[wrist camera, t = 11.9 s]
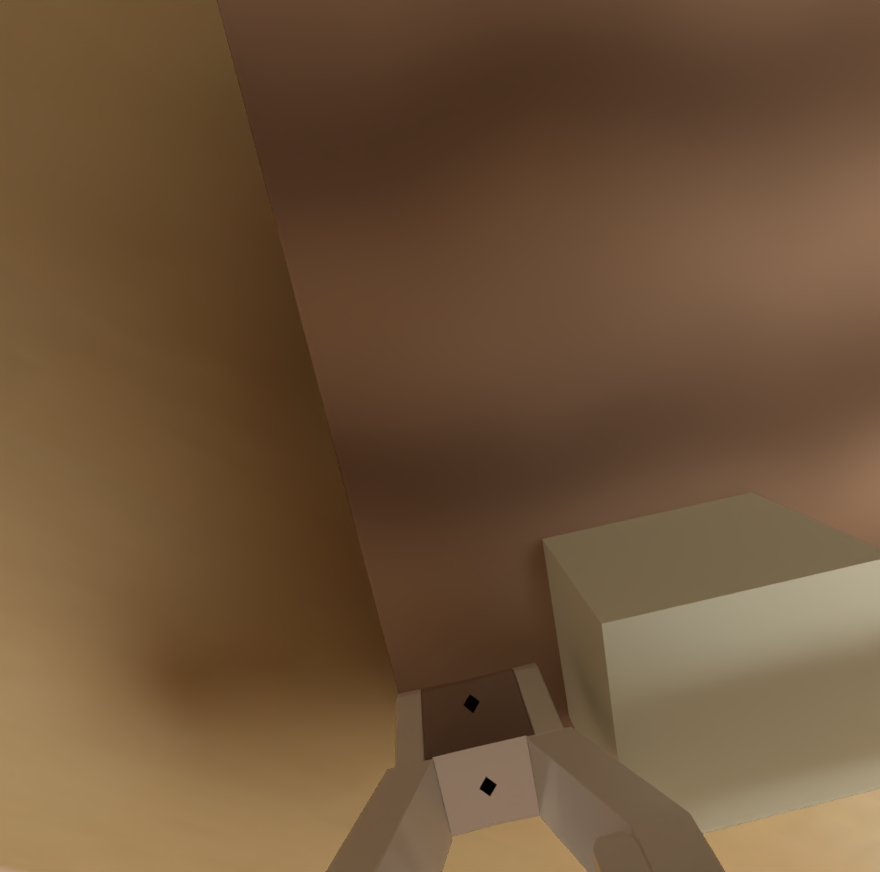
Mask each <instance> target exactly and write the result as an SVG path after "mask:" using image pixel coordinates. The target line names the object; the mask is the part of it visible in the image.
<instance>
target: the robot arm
mask: <svg viewBox="0 0 880 872" xmlns="http://www.w3.org/2000/svg"><path fill="white" fill-rule="evenodd" d="M540 815H541V818H542V820H543V821H544V822H545V823H546V824H547V825H548V826H549V828H550V829H551V830H552V831H553V832H554V833H555V834H556V836H557V837H558V838H559V839H560V840H561V841H562V842H563V844H564V845H565V846H566V847H567V848H568V849H569V850H570V852H571V853H572V854H573V855H574V856H575V857H576V858H577V860H578V861H579V862H580V863H581V864H582V865H583V866H584V868H585V869H586V870H587V871H588V872H725V871H724V869H723V867H722V866H721V864H720V862H719V861H718V859H717V857H716V856H715V854H714V852H713V851H712V849H711V847H710V846H709V844H708V842H707V841H706V839H705V837H704V836H703V834H702V832H701V831H700V829H699V828H698V826H697V824H696V823H695V821H694V819H693V818H692V816H691V814H690V813H689V812H688V811H686V810H685V809H684V808H682V807H681V806H680V805H678V804H677V803H675V802H674V801H673V800H671V799H670V798H669V797H667V796H666V795H664V794H663V793H662V792H660V791H659V790H657V789H656V788H655V787H653V786H652V785H651V784H649V783H648V782H646V781H645V780H644V779H642V778H641V777H640V776H638V775H637V774H635V773H634V772H633V771H631V770H630V769H629V768H627V767H626V766H624V765H623V764H622V763H620V762H619V761H618V760H616V759H615V758H613V757H612V756H611V755H609V754H608V753H607V752H605V751H604V750H602V749H601V748H600V747H598V746H597V745H596V744H594V743H593V742H591V741H590V740H589V739H587V738H586V737H585V736H583V735H582V734H580V733H579V732H578V731H576V730H575V729H574V728H572V727H567V728H563V725H562V723H561V721H560V718H559V716H558V713H557V711H556V709H555V706H554V704H553V701H552V699H551V697H550V694H549V692H548V689H547V687H546V685H545V682H544V680H543V677H542V675H541V673H540V670H539V668H538V666H537V665H536V664H535V663H531V664H527V665H523V666H519V667H515V668H512V669H508V670H504V671H500V672H495V673H491V674H487V675H483V676H479V677H474V678H470V679H467V680H462V681H457V682H451V683H446V684H441V685H436V686H431V687H426V688H422V689H420V690H414V691H409V692H404V693H399V694H398V696H397V699H396V738H395V768H391V769H387V771H386V773H385V774H384V776H383V778H382V779H381V781H380V783H379V784H378V786H377V788H376V789H375V791H374V793H373V794H372V796H371V798H370V799H369V801H368V803H367V804H366V806H365V808H364V809H363V811H362V813H361V814H360V816H359V818H358V819H357V821H356V823H355V824H354V826H353V828H352V829H351V831H350V833H349V834H348V836H347V837H346V839H345V841H344V842H343V844H342V846H341V847H340V849H339V851H338V852H337V854H336V856H335V857H334V859H333V861H332V862H331V864H330V866H329V867H328V869H327V871H326V872H442V870H443V867H444V864H445V861H446V858H447V855H448V852H449V849H450V846H451V843H452V838H451V837H453V836H456V835H460V834H464V833H467V832H471V831H474V830H478V829H482V828H485V827H489V826H492V825H496V824H501V823H506V822H511V821H516V820H521V819H525V818H530V817H535V816H540Z"/></svg>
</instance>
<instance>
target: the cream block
mask: <svg viewBox="0 0 880 872" xmlns="http://www.w3.org/2000/svg"><path fill="white" fill-rule="evenodd" d="M542 541H543V547H544V554H545V560H546V567H547V574H548V580H549V587H550V593H551V600H552V607H553V613H554V620H555V626H556V633H557V640H558V646H559V653H560V659H561V666H562V673H563V679H564V686H565V692H566V699H567V706H568V712H569V717H570V719H571V722H572V724H573V726H574V728H575V730H576V731H578V732H579V733H580V734H582V735H583V736H585V737H586V738H587V739H589V740H590V741H591V742H593V743H594V744H596V745H597V746H598V747H600V748H601V749H602V750H604V751H605V752H607V753H608V754H609V755H611V756H612V757H613V758H615V759H616V760H618V761H619V762H620V763H622V764H623V765H624V766H626V767H627V768H629V769H630V770H631V771H633V772H634V773H635V774H637V775H638V776H640V777H641V778H642V779H644V780H645V781H646V782H648V783H649V784H651V785H652V786H653V787H655V788H656V789H657V790H659V791H660V792H662V793H663V794H664V795H666V796H667V797H669V798H670V799H671V800H673V801H674V802H675V803H677V804H678V805H680V806H681V807H682V808H684V809H685V810H686V811H688V812H689V813H690V814H691V816H692V818H693V819H694V821H695V823H696V824H697V826H698V828H699V829H700V831H701V832H702V834H704V833H708V832H712V831H716V830H720V829H724V828H727V827H731V826H735V825H739V824H743V823H747V822H751V821H755V820H759V819H763V818H767V817H771V816H775V815H779V814H783V813H786V812H790V811H794V810H798V809H802V808H806V807H810V806H814V805H818V804H822V803H826V802H830V801H834V800H838V799H842V798H845V797H849V796H853V795H857V794H861V793H865V792H869V791H873V790H877V789H880V549H878V548H876V547H874V546H872V545H869V544H867V543H865V542H862V541H860V540H858V539H856V538H853V537H851V536H849V535H847V534H844V533H842V532H840V531H838V530H835V529H833V528H831V527H829V526H826V525H824V524H822V523H820V522H817V521H815V520H813V519H811V518H808V517H806V516H804V515H802V514H799V513H797V512H795V511H793V510H790V509H788V508H786V507H784V506H781V505H779V504H777V503H775V502H772V501H770V500H768V499H766V498H763V497H761V496H759V495H757V494H754V493H752V492H751V493H747V494H742V495H738V496H733V497H729V498H724V499H720V500H715V501H711V502H706V503H702V504H697V505H693V506H688V507H684V508H679V509H675V510H670V511H666V512H661V513H657V514H652V515H648V516H643V517H639V518H634V519H630V520H625V521H621V522H616V523H612V524H607V525H603V526H598V527H594V528H589V529H585V530H580V531H576V532H571V533H567V534H562V535H558V536H553V537H549V538H544V539H542Z"/></svg>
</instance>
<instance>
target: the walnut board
mask: <svg viewBox="0 0 880 872" xmlns="http://www.w3.org/2000/svg"><path fill="white" fill-rule="evenodd" d="M217 2H218V6H219V10H220V13H221V17H222V21H223V25H224V29H225V32H226V36H227V40H228V44H229V48H230V52H231V55H232V59H233V63H234V67H235V71H236V74H237V78H238V82H239V86H240V90H241V94H242V97H243V101H244V105H245V109H246V113H247V116H248V120H249V124H250V128H251V132H252V135H253V139H254V143H255V147H256V151H257V155H258V158H259V162H260V166H261V170H262V174H263V177H264V181H265V185H266V189H267V193H268V197H269V200H270V204H271V208H272V212H273V216H274V219H275V223H276V227H277V231H278V235H279V238H280V242H281V246H282V250H283V254H284V258H285V261H286V265H287V269H288V273H289V277H290V280H291V284H292V288H293V292H294V296H295V300H296V303H297V307H298V311H299V315H300V319H301V322H302V326H303V330H304V334H305V338H306V342H307V345H308V349H309V353H310V357H311V361H312V364H313V368H314V372H315V376H316V380H317V383H318V387H319V391H320V395H321V399H322V403H323V406H324V410H325V414H326V418H327V422H328V425H329V429H330V433H331V437H332V441H333V445H334V448H335V452H336V456H337V460H338V464H339V467H340V471H341V475H342V479H343V483H344V487H345V490H346V494H347V498H348V502H349V506H350V509H351V513H352V517H353V521H354V525H355V528H356V532H357V536H358V540H359V544H360V548H361V551H362V555H363V559H364V563H365V567H366V570H367V574H368V578H369V582H370V586H371V590H372V593H373V597H374V601H375V605H376V609H377V612H378V616H379V620H380V624H381V628H382V632H383V635H384V639H385V643H386V647H387V651H388V654H389V658H390V662H391V666H392V670H393V673H394V677H395V681H396V685H397V689H398V693H404V692H409V691H414V690H420V689H422V688H426V687H431V686H436V685H441V684H446V683H451V682H457V681H462V680H467V679H470V678H474V677H479V676H483V675H487V674H491V673H495V672H500V671H504V670H508V669H512V668H515V667H519V666H523V665H527V664H531V663H535V664H536V665H537V666H538V668H539V670H540V673H541V675H542V677H543V680H544V682H545V685H546V687H547V689H548V692H549V694H550V697H551V699H552V701H553V704H554V706H555V709H556V711H557V713H558V716H559V718H560V721H561V723H562V725H563V728H567V727H572V728H574V726H573V724H572V722H571V719H570V717H569V712H568V706H567V699H566V692H565V686H564V679H563V673H562V666H561V659H560V653H559V646H558V640H557V633H556V626H555V620H554V613H553V607H552V600H551V593H550V587H549V580H548V574H547V567H546V560H545V554H544V547H543V541H542V539H544V538H549V537H553V536H558V535H562V534H567V533H571V532H576V531H580V530H585V529H589V528H594V527H598V526H603V525H607V524H612V523H616V522H621V521H625V520H630V519H634V518H639V517H643V516H648V515H652V514H657V513H661V512H666V511H670V510H675V509H679V508H684V507H688V506H693V505H697V504H702V503H706V502H711V501H715V500H720V499H724V498H729V497H733V496H738V495H742V494H747V493H751V492H752V493H754V494H757V495H759V496H761V497H763V498H766V499H768V500H770V501H772V502H775V503H777V504H779V505H781V506H784V507H786V508H788V509H790V510H793V511H795V512H797V513H799V514H802V515H804V516H806V517H808V518H811V519H813V520H815V521H817V522H820V523H822V524H824V525H826V526H829V527H831V528H833V529H835V530H838V531H840V532H842V533H844V534H847V535H849V536H851V537H853V538H856V539H858V540H860V541H862V542H865V543H867V544H869V545H872V546H874V547H876V548H878V549H880V0H217ZM574 729H575V728H574Z"/></svg>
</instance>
